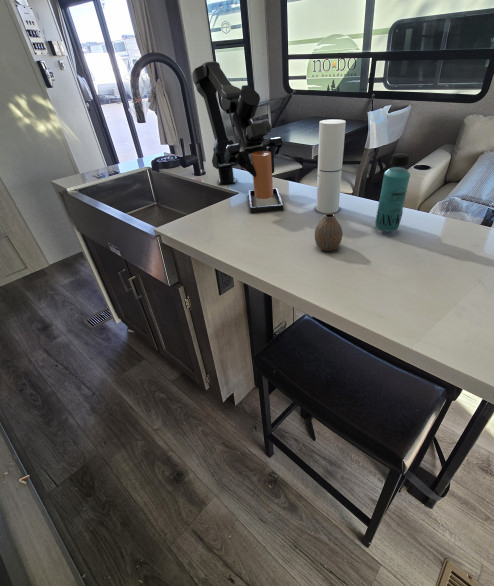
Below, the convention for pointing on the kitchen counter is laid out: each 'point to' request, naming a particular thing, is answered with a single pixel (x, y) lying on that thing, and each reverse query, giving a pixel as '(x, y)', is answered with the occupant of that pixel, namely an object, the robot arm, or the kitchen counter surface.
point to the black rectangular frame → (266, 208)
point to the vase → (328, 233)
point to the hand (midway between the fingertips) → (264, 174)
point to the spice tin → (262, 174)
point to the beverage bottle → (393, 194)
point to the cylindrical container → (330, 164)
